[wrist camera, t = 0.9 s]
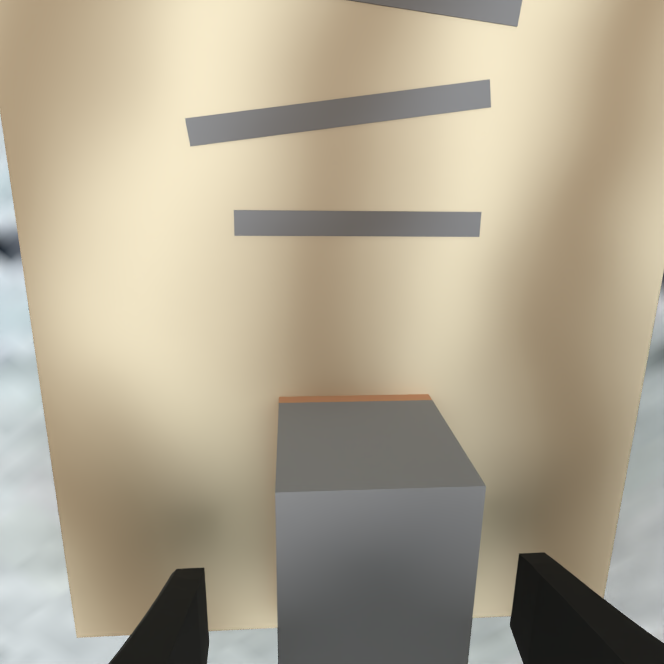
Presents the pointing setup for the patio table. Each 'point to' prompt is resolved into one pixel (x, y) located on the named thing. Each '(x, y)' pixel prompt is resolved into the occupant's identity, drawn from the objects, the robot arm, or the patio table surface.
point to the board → (330, 264)
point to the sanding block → (374, 532)
